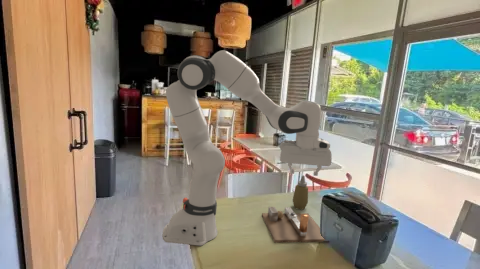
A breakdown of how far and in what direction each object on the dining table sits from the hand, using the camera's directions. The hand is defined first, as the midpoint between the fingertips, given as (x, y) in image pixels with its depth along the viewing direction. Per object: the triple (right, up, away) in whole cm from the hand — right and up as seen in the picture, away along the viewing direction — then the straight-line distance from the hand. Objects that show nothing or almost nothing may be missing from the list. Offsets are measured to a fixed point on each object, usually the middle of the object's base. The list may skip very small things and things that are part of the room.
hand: (303, 174), depth 108 cm
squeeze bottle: (+6, -23, +35) cm, 42 cm away
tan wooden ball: (-7, -24, +18) cm, 31 cm away
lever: (-1, -25, +13) cm, 28 cm away
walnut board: (-2, -26, +13) cm, 29 cm away
